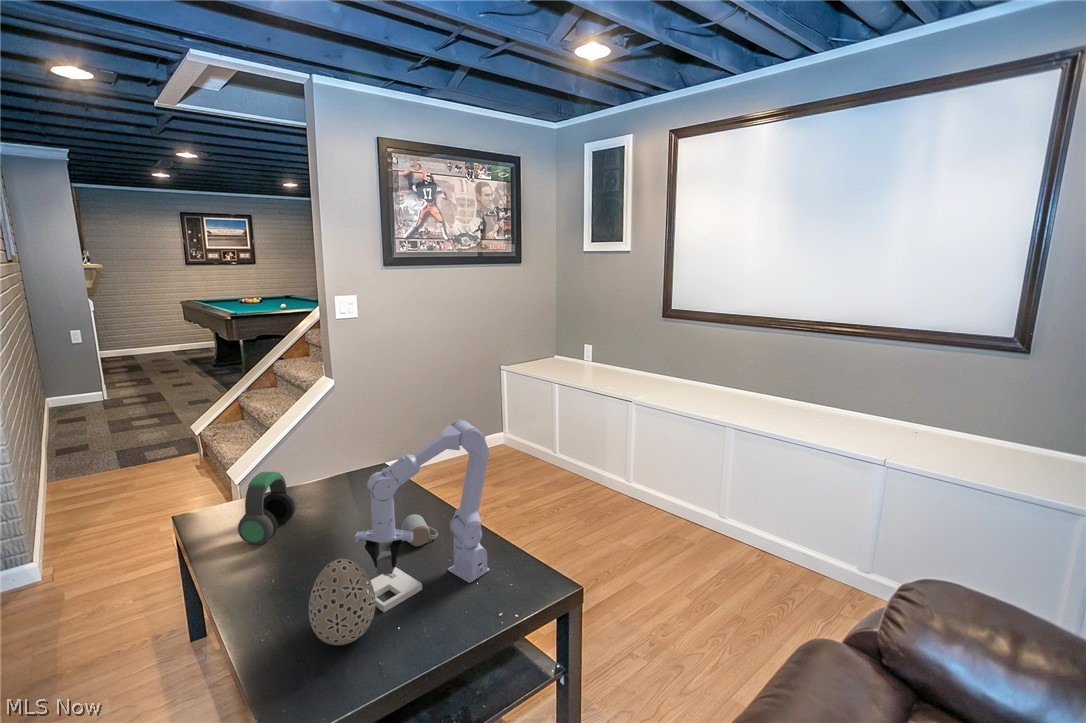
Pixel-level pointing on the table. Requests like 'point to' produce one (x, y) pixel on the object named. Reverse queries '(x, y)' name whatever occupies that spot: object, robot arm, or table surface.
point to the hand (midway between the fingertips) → (386, 565)
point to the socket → (394, 588)
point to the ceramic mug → (418, 529)
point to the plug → (384, 563)
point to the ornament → (341, 603)
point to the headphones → (265, 508)
